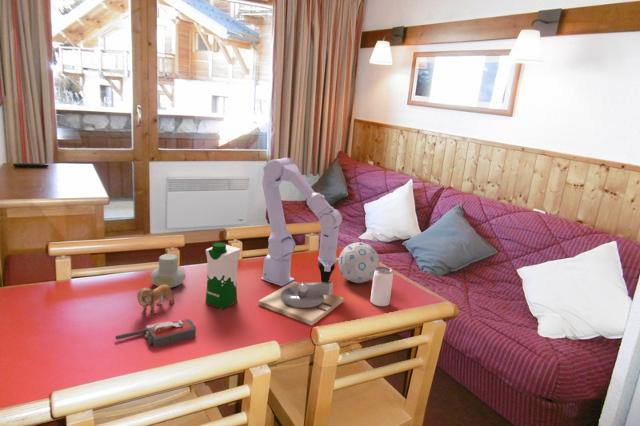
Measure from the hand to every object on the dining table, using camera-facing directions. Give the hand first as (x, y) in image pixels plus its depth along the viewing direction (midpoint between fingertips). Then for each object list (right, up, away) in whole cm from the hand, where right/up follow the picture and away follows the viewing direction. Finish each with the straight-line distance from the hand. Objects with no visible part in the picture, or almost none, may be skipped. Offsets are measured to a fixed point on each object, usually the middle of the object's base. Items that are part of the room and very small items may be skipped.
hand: (324, 283), depth 154 cm
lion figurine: (-50, -5, -20) cm, 55 cm away
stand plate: (-8, -5, -8) cm, 12 cm away
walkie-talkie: (-45, -10, -34) cm, 57 cm away
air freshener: (-53, 0, -3) cm, 53 cm away
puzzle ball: (+12, -2, +14) cm, 19 cm away
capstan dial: (-6, -4, -8) cm, 11 cm away
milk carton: (-33, -4, -12) cm, 35 cm away
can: (+19, -7, -2) cm, 20 cm away
